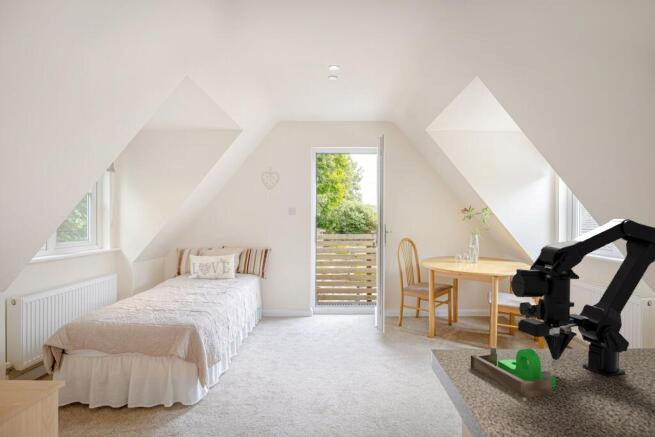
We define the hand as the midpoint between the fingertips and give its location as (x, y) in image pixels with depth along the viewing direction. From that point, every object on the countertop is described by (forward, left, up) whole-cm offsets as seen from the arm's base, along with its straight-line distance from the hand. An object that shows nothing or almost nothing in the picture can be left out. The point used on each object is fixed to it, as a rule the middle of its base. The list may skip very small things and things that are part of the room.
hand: (555, 359), depth 96 cm
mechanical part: (+9, 0, -4) cm, 10 cm away
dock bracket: (+15, 0, -3) cm, 15 cm away
